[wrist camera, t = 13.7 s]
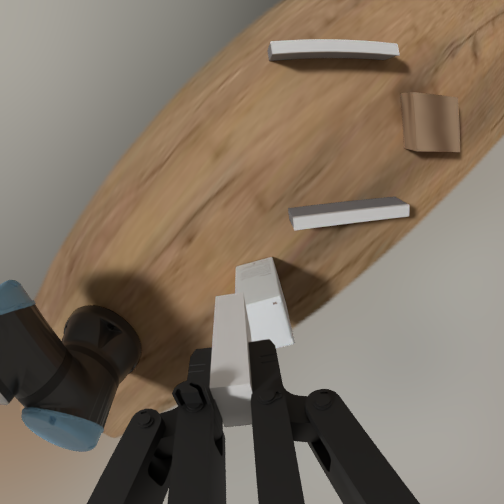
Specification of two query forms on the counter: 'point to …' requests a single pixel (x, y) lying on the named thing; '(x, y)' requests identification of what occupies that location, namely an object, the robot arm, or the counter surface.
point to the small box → (264, 302)
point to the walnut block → (430, 122)
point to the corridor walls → (350, 209)
